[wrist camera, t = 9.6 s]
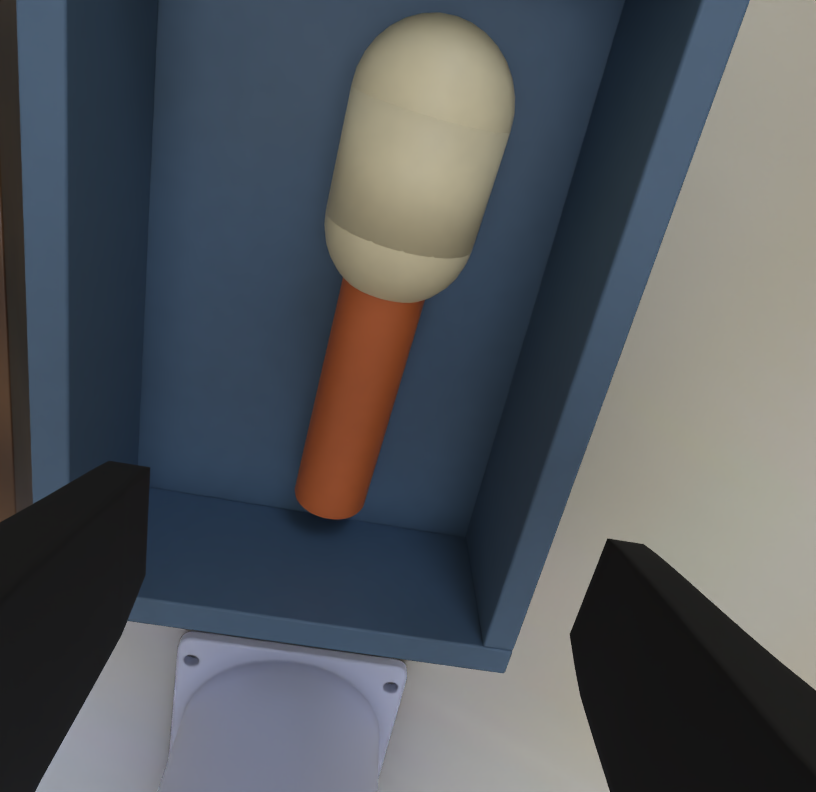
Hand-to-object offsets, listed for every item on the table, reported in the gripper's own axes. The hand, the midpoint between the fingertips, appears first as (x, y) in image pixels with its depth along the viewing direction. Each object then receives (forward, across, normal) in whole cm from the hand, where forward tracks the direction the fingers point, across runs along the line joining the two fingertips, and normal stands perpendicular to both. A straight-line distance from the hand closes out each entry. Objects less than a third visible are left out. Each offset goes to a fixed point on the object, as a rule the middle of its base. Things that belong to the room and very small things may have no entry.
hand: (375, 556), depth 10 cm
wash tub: (+9, +1, -2) cm, 10 cm away
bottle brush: (+7, 0, -2) cm, 7 cm away
